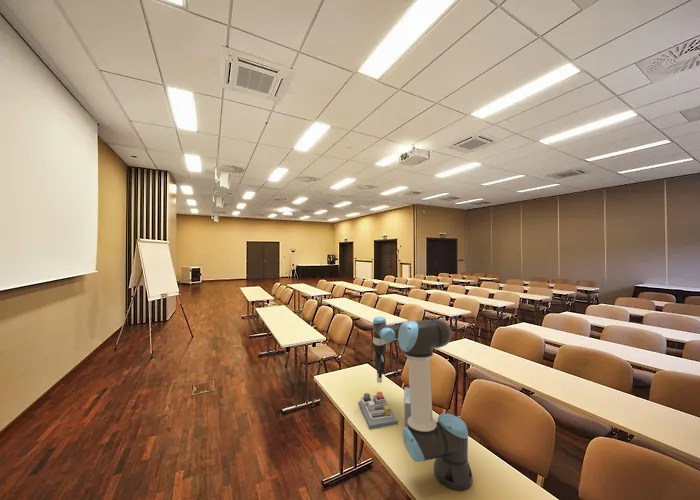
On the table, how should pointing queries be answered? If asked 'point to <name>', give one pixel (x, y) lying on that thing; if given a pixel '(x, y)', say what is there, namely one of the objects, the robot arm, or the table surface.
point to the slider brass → (386, 410)
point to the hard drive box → (406, 405)
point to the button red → (379, 395)
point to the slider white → (371, 406)
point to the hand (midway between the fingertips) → (379, 382)
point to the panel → (377, 413)
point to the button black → (366, 397)
